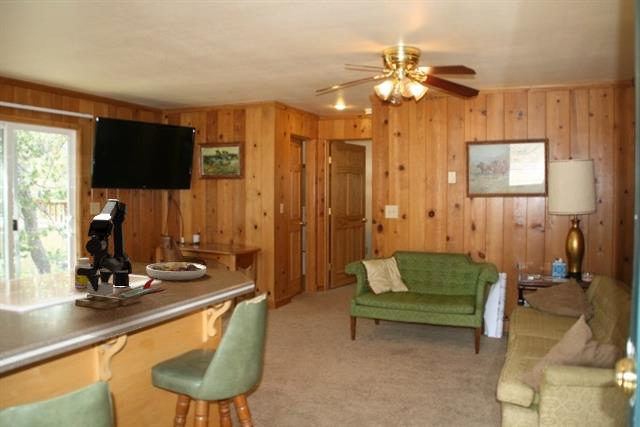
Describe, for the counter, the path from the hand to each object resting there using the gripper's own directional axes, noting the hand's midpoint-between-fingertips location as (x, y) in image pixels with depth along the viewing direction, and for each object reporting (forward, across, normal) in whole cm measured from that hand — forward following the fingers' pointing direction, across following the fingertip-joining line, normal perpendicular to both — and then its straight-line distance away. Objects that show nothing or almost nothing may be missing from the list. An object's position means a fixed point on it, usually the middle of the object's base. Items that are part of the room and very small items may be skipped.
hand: (100, 290), depth 201 cm
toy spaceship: (+6, +24, 0) cm, 25 cm away
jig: (+5, +4, 0) cm, 7 cm away
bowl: (+6, +68, +11) cm, 69 cm away
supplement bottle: (+6, +22, +29) cm, 37 cm away
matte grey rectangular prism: (+1, 0, 0) cm, 1 cm away
